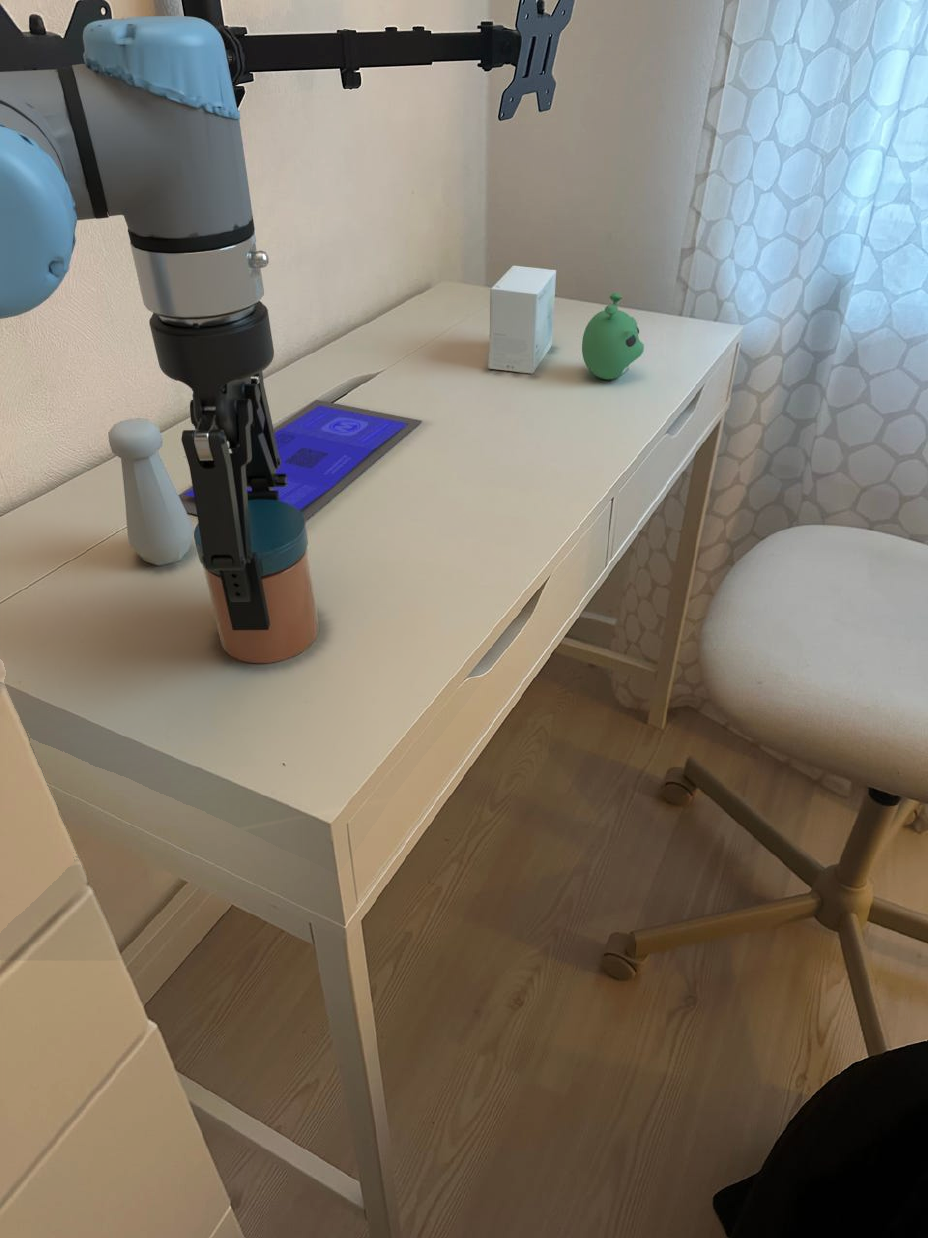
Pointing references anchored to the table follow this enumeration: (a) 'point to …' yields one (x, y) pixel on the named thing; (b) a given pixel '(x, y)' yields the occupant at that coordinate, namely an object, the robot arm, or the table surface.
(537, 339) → the cosmetics box
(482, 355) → the table surface
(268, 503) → the jar lid
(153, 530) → the salt shaker
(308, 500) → the booklet
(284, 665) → the table surface
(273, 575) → the jar
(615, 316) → the alien toy
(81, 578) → the table surface
